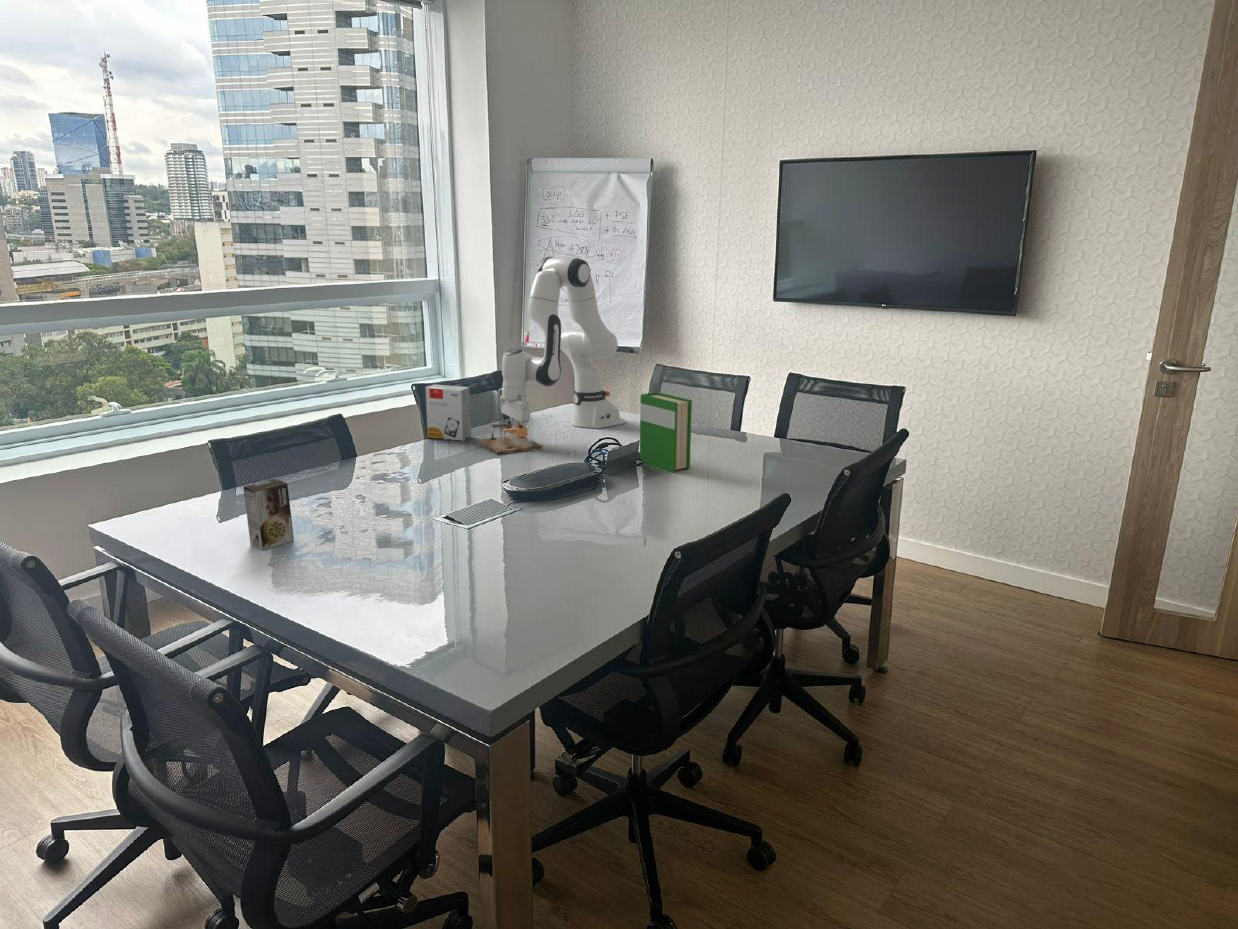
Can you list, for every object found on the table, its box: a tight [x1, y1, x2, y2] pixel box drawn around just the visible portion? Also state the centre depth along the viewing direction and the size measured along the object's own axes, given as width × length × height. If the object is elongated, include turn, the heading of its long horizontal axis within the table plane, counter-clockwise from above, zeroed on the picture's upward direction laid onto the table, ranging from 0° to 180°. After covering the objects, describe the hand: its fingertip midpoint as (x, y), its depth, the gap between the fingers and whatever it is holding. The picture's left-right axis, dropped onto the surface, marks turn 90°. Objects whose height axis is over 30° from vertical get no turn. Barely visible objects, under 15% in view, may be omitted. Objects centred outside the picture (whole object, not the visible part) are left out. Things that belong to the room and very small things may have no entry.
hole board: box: [475, 435, 543, 456], centre depth 323 cm, size 18×20×1 cm
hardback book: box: [639, 391, 693, 474], centre depth 295 cm, size 18×7×24 cm, turn 39°
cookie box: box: [243, 478, 295, 552], centre depth 223 cm, size 9×6×16 cm
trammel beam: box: [490, 419, 533, 447], centre depth 323 cm, size 9×19×6 cm, turn 30°
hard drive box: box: [424, 383, 472, 442], centre depth 333 cm, size 16×8×20 cm, turn 73°
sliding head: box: [501, 424, 529, 443], centre depth 321 cm, size 9×4×6 cm, turn 120°
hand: (515, 429), depth 326 cm, fingers closed
